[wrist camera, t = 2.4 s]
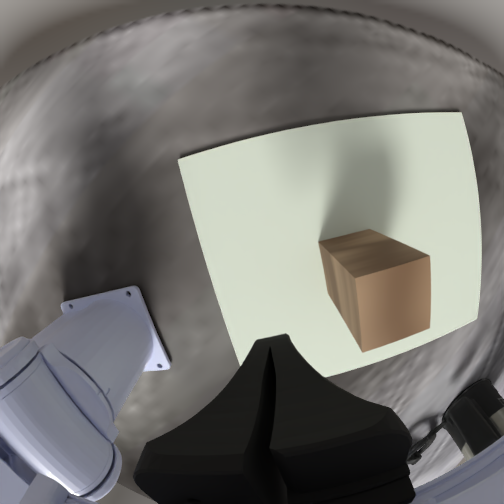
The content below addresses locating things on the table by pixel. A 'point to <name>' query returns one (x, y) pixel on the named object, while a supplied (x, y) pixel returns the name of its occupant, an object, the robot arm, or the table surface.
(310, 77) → the table surface
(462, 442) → the milk frother
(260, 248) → the sage mat
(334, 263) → the walnut block
